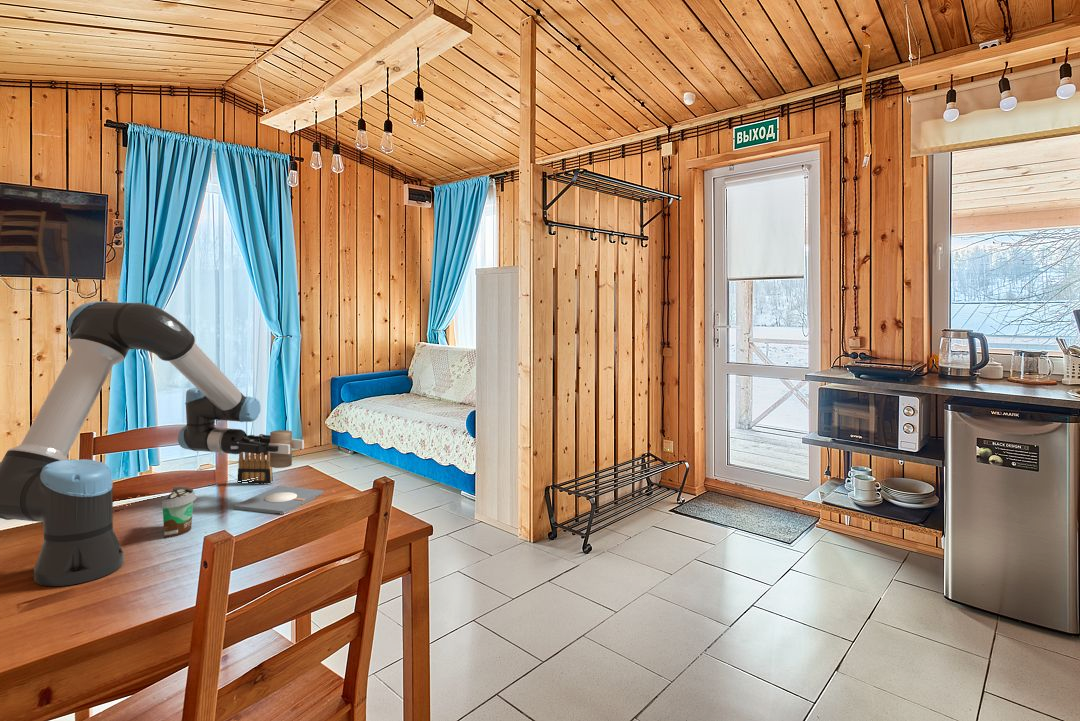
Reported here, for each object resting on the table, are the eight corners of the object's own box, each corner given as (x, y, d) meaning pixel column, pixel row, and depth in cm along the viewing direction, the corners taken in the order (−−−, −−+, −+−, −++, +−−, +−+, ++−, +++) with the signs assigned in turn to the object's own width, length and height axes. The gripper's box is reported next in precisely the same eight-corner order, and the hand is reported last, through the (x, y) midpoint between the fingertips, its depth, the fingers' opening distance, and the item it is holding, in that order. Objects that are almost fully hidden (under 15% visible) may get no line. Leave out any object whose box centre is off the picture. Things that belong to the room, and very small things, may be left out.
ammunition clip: (272, 482, 190) (272, 447, 189) (270, 484, 188) (270, 448, 187) (239, 482, 190) (239, 446, 189) (237, 483, 188) (236, 447, 187)
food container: (191, 537, 143) (190, 498, 142) (162, 540, 141) (161, 500, 140) (200, 520, 155) (199, 484, 154) (174, 523, 152) (173, 486, 152)
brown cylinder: (283, 468, 168) (284, 435, 167) (265, 466, 169) (265, 433, 168) (295, 463, 174) (296, 431, 173) (278, 461, 175) (278, 429, 174)
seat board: (283, 514, 161) (283, 510, 161) (233, 509, 164) (233, 504, 164) (323, 493, 181) (323, 489, 180) (278, 488, 184) (278, 485, 184)
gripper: (250, 446, 184) (315, 451, 180) (204, 460, 166) (275, 467, 161) (250, 423, 184) (315, 428, 179) (204, 435, 165) (275, 441, 161)
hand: (296, 446), depth 170 cm, fingers closed on brown cylinder, 6 cm apart
